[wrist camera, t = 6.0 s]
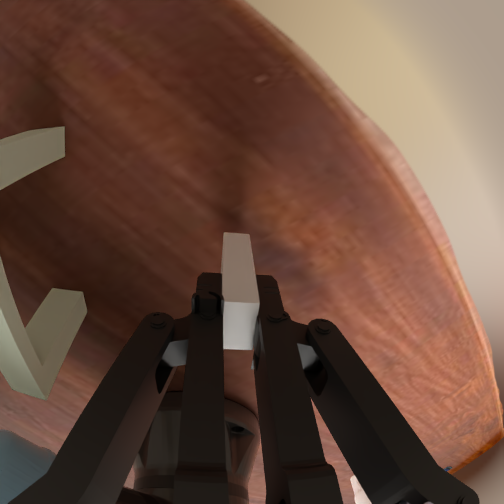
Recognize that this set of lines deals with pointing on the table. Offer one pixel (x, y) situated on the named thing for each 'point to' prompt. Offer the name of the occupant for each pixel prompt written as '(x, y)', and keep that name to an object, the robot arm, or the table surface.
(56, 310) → the bridge
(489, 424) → the table surface
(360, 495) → the mug
